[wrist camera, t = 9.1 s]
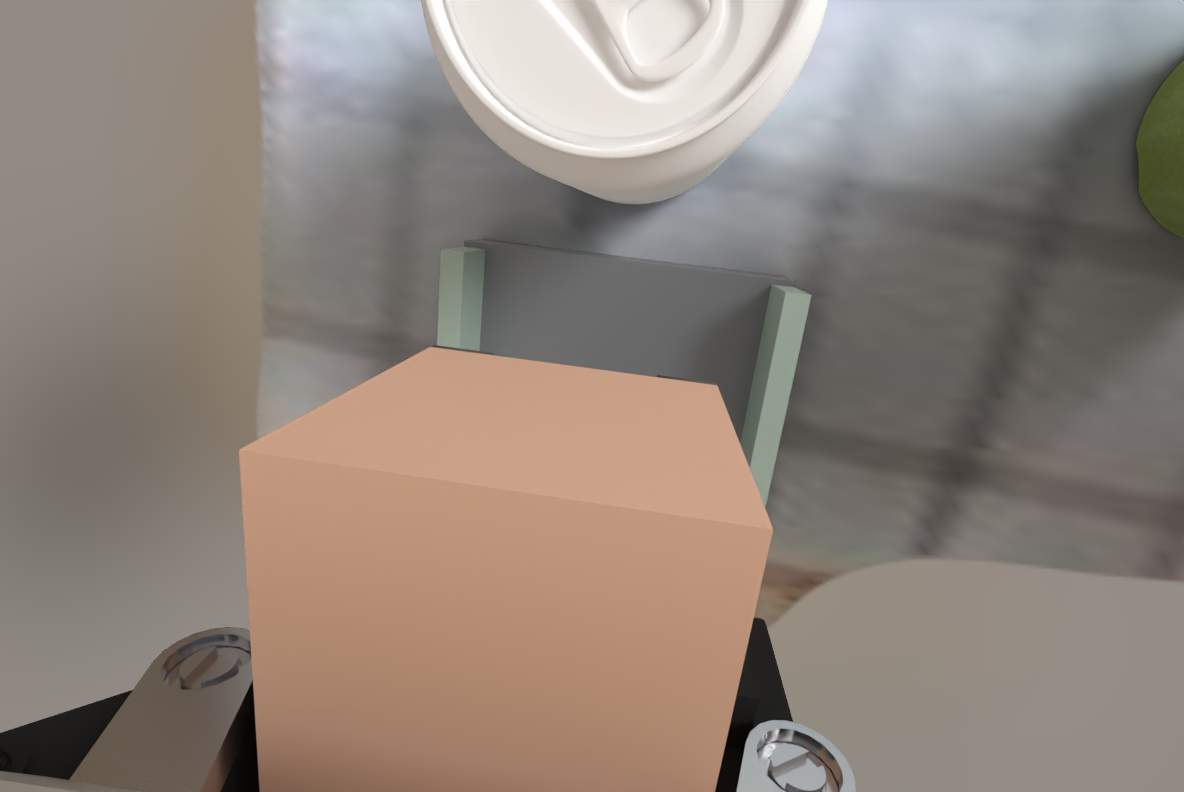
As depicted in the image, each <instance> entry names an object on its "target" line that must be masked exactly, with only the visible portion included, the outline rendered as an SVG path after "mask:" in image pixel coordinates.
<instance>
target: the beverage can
mask: <svg viewBox="0 0 1184 792" xmlns="http://www.w3.org/2000/svg"><path fill="white" fill-rule="evenodd" d="M421 2H422V8H423V13H424V18H425V22H426V26H427V30H428V34H429V37H430V40H431V43H432V46H433V49H434V52H435V54H436V57H437V59H438V62H439V64H440V66H441V69H442V71H443V73H444V75H445V77H446V79H447V81H448V83H449V85H450V87H451V88H452V90H453V92H454V93H455V95H456V97H457V98H458V100H459V101H460V103H461V104H462V106H463V107H464V109H465V110H466V112H467V113H468V114H469V115H470V117H471V118H472V119H473V120H474V122H475V123H476V124H477V125H478V126H479V128H480V129H481V130H482V131H483V132H484V133H485V134H486V135H487V136H488V137H489V138H490V139H491V140H492V141H493V142H494V143H496V144H497V145H498V146H499V147H500V148H501V149H503V150H504V151H505V152H506V153H508V154H509V155H510V156H512V157H513V158H514V159H516V160H518V161H519V162H521V163H522V164H524V165H526V166H527V167H529V168H531V169H533V170H535V171H536V172H538V173H540V174H543V175H545V176H547V177H549V178H552V179H554V180H556V181H559V182H561V183H564V184H566V185H569V186H571V187H573V188H576V189H578V190H581V191H583V192H586V193H588V194H591V195H593V196H596V197H598V198H601V199H604V200H607V201H611V202H616V203H623V204H648V203H654V202H659V201H663V200H667V199H670V198H672V197H675V196H677V195H680V194H682V193H684V192H686V191H688V190H690V189H691V188H693V187H695V186H696V185H698V184H699V183H700V182H702V181H703V180H704V179H706V178H707V177H708V176H709V175H710V174H712V173H713V172H714V171H715V170H716V169H717V168H718V167H719V166H720V165H721V164H722V163H723V162H724V161H725V160H726V159H727V158H728V157H729V156H730V155H731V154H732V153H733V152H735V151H736V150H737V149H738V148H739V147H740V146H741V145H742V144H743V143H744V142H745V141H746V140H747V139H748V138H749V137H750V136H751V135H752V134H753V133H754V132H755V131H756V130H757V129H758V128H759V127H760V126H761V125H762V124H763V123H764V122H765V121H766V120H767V118H768V117H769V116H770V115H771V114H772V113H773V112H774V110H775V109H776V108H777V106H778V105H779V104H780V103H781V101H782V100H783V99H784V97H785V96H786V94H787V93H788V91H789V90H790V88H791V87H792V85H793V84H794V82H795V80H796V79H797V77H798V75H799V74H800V72H801V70H802V68H803V66H804V64H805V62H806V60H807V58H808V56H809V54H810V52H811V50H812V47H813V45H814V43H815V40H816V38H817V35H818V32H819V29H820V27H821V24H822V21H823V17H824V14H825V10H826V7H827V3H828V0H421Z"/></svg>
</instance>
